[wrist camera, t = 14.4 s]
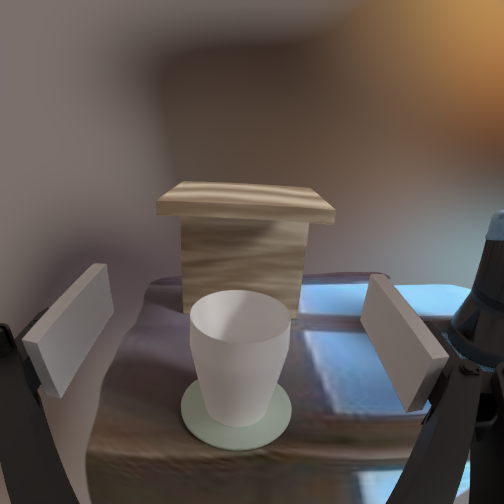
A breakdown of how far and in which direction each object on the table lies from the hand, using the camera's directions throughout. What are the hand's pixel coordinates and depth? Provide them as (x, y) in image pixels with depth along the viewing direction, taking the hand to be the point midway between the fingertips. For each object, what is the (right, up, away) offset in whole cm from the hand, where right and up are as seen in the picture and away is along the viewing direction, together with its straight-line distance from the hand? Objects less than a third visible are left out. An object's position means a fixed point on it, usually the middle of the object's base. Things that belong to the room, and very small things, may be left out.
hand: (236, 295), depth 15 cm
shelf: (-1, -10, +28) cm, 30 cm away
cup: (-1, -15, +16) cm, 22 cm away
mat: (-1, -15, +16) cm, 22 cm away
